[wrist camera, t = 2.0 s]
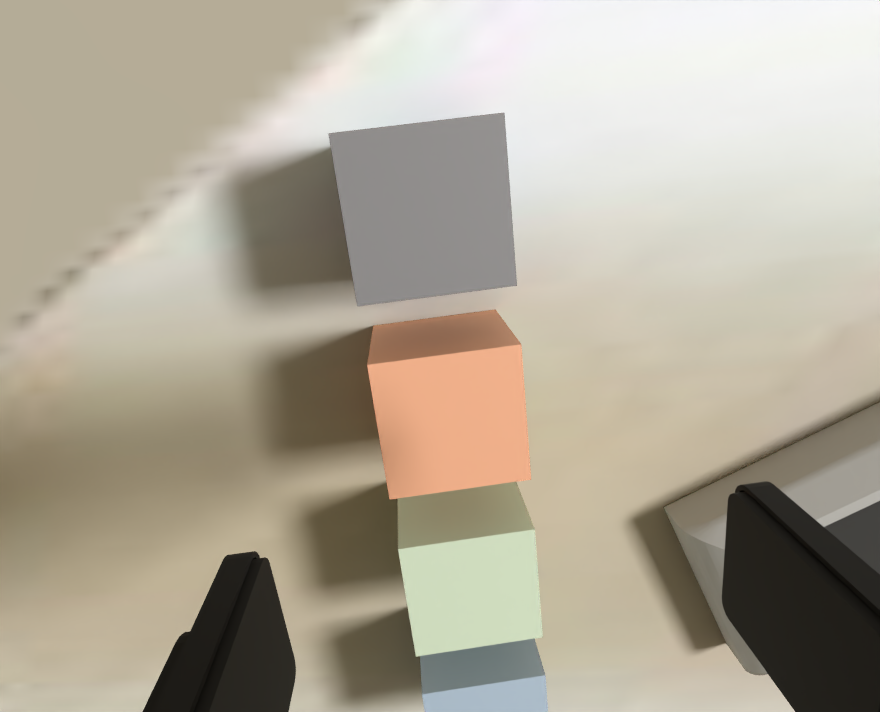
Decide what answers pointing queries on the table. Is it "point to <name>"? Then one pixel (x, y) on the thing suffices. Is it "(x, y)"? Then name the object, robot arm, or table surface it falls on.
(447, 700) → the slate-blue block
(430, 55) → the table surface
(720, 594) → the gray dark-screened device
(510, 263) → the gray block
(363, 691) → the table surface
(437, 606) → the sage-green block
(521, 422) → the terracotta block
